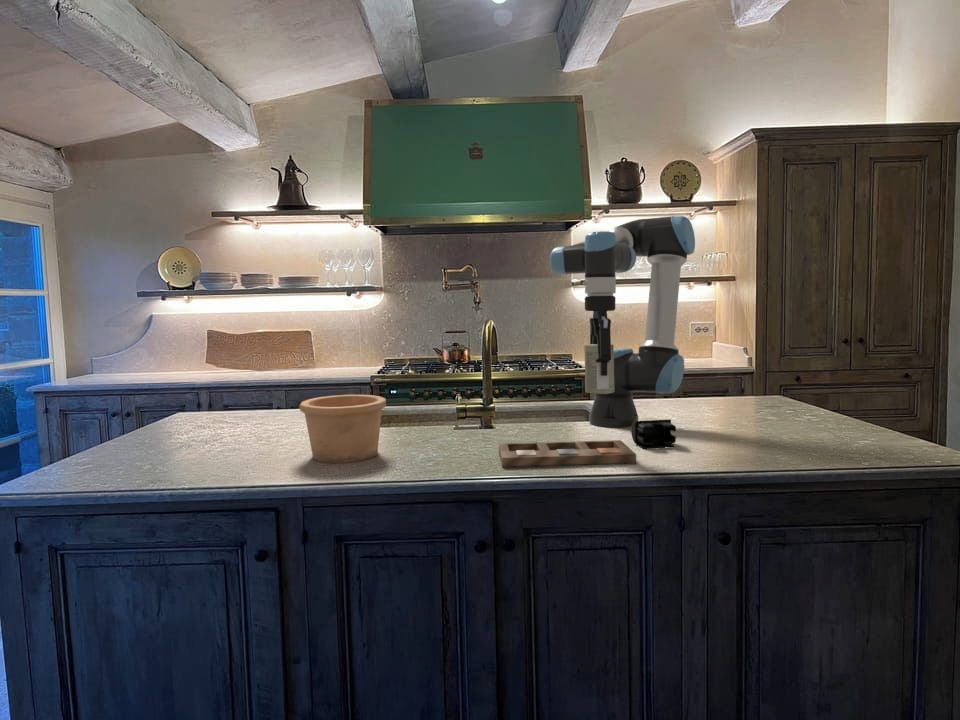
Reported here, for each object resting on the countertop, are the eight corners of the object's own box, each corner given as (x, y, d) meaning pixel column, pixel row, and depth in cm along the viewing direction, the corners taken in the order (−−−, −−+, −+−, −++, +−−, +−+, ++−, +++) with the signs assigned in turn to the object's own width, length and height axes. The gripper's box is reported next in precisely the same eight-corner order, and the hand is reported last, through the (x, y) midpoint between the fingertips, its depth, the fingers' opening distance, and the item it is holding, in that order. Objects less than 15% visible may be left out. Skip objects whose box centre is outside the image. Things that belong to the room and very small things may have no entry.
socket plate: (502, 467, 152) (502, 456, 152) (498, 452, 167) (498, 441, 167) (636, 464, 153) (636, 452, 153) (620, 449, 168) (620, 438, 168)
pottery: (315, 446, 179) (313, 395, 177) (394, 445, 178) (392, 393, 177) (290, 466, 157) (287, 408, 156) (379, 465, 156) (377, 407, 155)
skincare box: (615, 392, 161) (615, 344, 160) (605, 394, 158) (606, 345, 157) (593, 390, 166) (593, 343, 164) (583, 392, 162) (583, 344, 161)
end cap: (666, 441, 176) (666, 417, 175) (677, 447, 169) (677, 422, 168) (631, 443, 175) (631, 419, 174) (640, 449, 168) (640, 424, 167)
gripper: (578, 295, 169) (578, 381, 172) (592, 294, 150) (592, 392, 152) (606, 295, 170) (606, 381, 172) (624, 294, 150) (624, 391, 152)
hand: (599, 386), depth 162 cm, fingers closed on skincare box, 7 cm apart
